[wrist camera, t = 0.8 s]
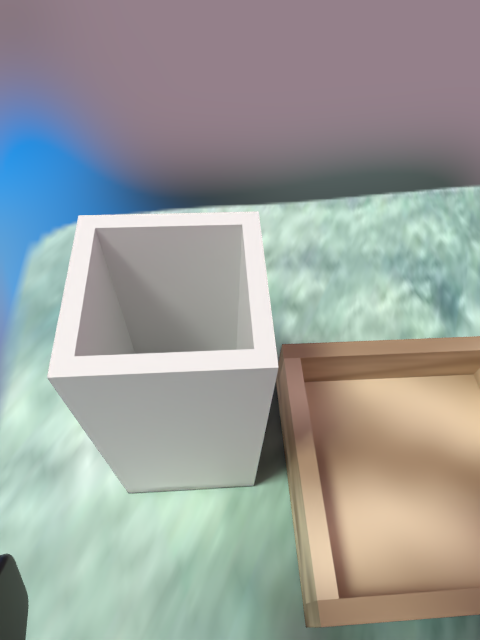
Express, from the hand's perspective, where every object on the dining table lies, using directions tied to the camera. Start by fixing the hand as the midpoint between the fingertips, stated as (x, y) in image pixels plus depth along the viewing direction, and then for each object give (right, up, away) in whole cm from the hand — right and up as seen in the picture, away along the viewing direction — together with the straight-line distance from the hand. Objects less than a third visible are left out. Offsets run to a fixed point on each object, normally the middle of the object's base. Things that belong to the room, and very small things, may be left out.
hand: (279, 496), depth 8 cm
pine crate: (+7, -5, +14) cm, 17 cm away
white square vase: (-3, -3, +15) cm, 16 cm away
